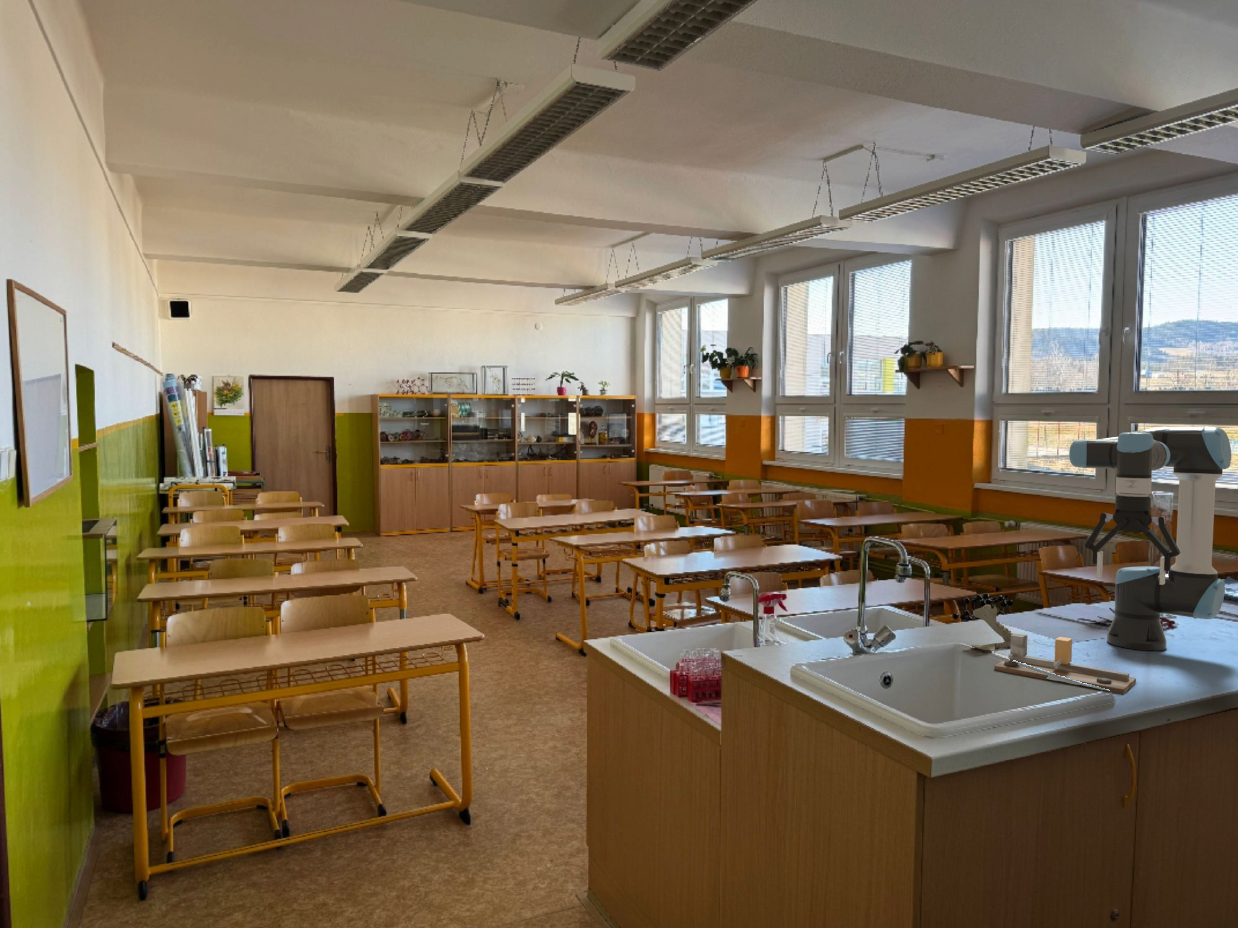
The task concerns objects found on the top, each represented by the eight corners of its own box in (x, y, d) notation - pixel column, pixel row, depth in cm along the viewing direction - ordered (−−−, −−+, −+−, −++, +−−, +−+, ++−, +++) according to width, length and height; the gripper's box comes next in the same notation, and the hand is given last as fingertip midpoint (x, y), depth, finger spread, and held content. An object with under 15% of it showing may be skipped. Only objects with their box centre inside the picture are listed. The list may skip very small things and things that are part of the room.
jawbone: (1018, 667, 250) (984, 649, 244) (996, 665, 257) (962, 648, 251) (1026, 621, 255) (993, 602, 249) (1003, 621, 261) (971, 602, 255)
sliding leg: (1058, 661, 228) (1059, 636, 228) (1071, 663, 226) (1072, 638, 226) (1048, 668, 222) (1049, 642, 221) (1061, 670, 220) (1062, 644, 219)
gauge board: (1010, 660, 238) (1011, 630, 238) (1135, 682, 218) (1136, 650, 217) (994, 669, 228) (995, 639, 228) (1123, 694, 208) (1124, 660, 208)
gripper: (1073, 492, 219) (1071, 576, 220) (1191, 498, 203) (1187, 588, 204) (1080, 491, 225) (1078, 572, 226) (1195, 497, 209) (1192, 584, 210)
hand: (1130, 580), depth 215 cm, fingers open, 13 cm apart
